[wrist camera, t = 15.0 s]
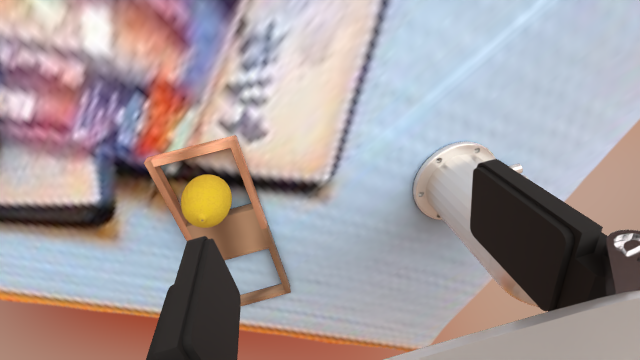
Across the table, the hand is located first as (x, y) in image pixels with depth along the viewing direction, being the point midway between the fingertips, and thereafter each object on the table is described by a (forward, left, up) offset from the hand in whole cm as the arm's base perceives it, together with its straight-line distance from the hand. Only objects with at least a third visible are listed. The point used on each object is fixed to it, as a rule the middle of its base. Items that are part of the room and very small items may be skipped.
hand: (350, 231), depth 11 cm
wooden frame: (+13, +19, -28) cm, 36 cm away
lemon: (+13, +11, -28) cm, 33 cm away
